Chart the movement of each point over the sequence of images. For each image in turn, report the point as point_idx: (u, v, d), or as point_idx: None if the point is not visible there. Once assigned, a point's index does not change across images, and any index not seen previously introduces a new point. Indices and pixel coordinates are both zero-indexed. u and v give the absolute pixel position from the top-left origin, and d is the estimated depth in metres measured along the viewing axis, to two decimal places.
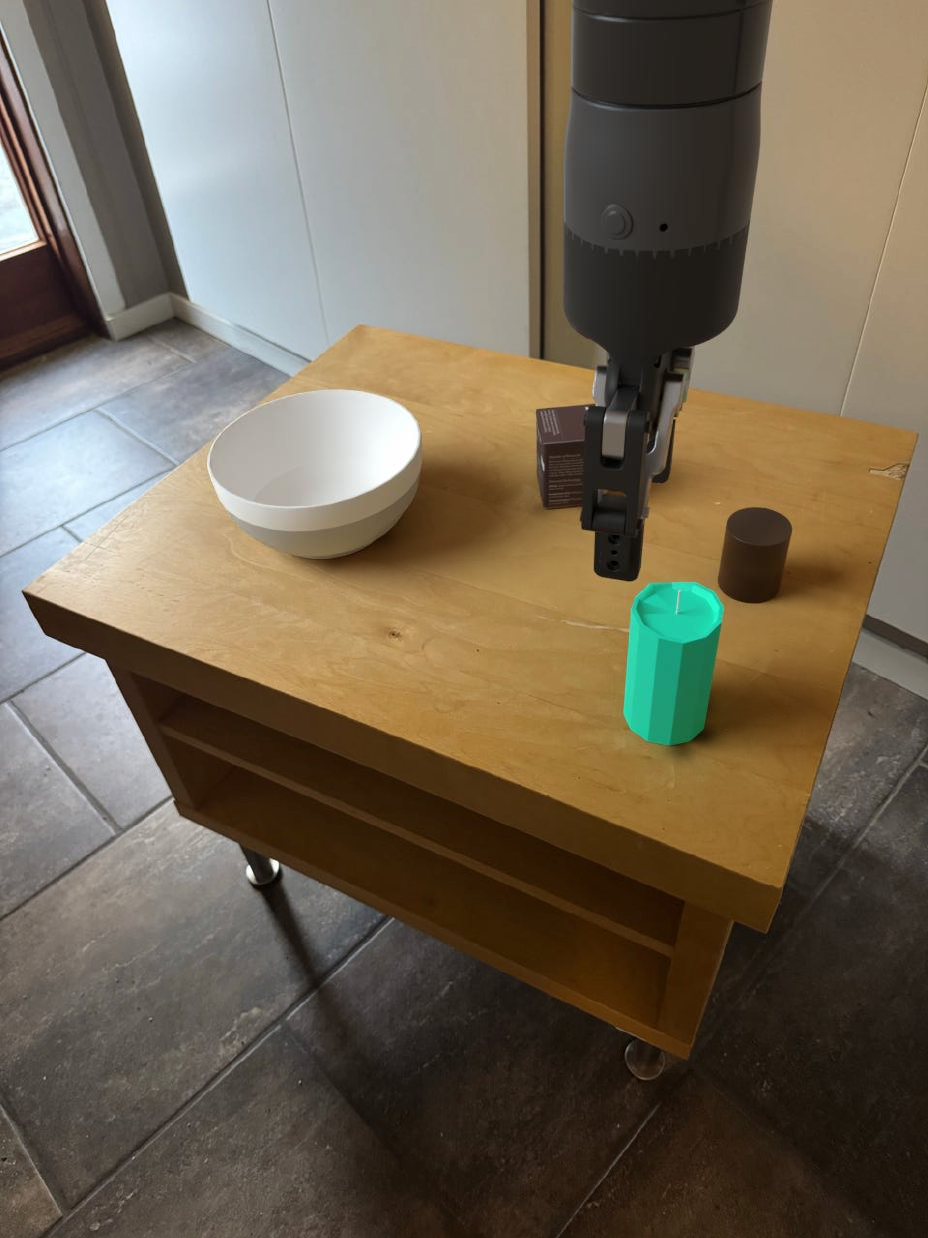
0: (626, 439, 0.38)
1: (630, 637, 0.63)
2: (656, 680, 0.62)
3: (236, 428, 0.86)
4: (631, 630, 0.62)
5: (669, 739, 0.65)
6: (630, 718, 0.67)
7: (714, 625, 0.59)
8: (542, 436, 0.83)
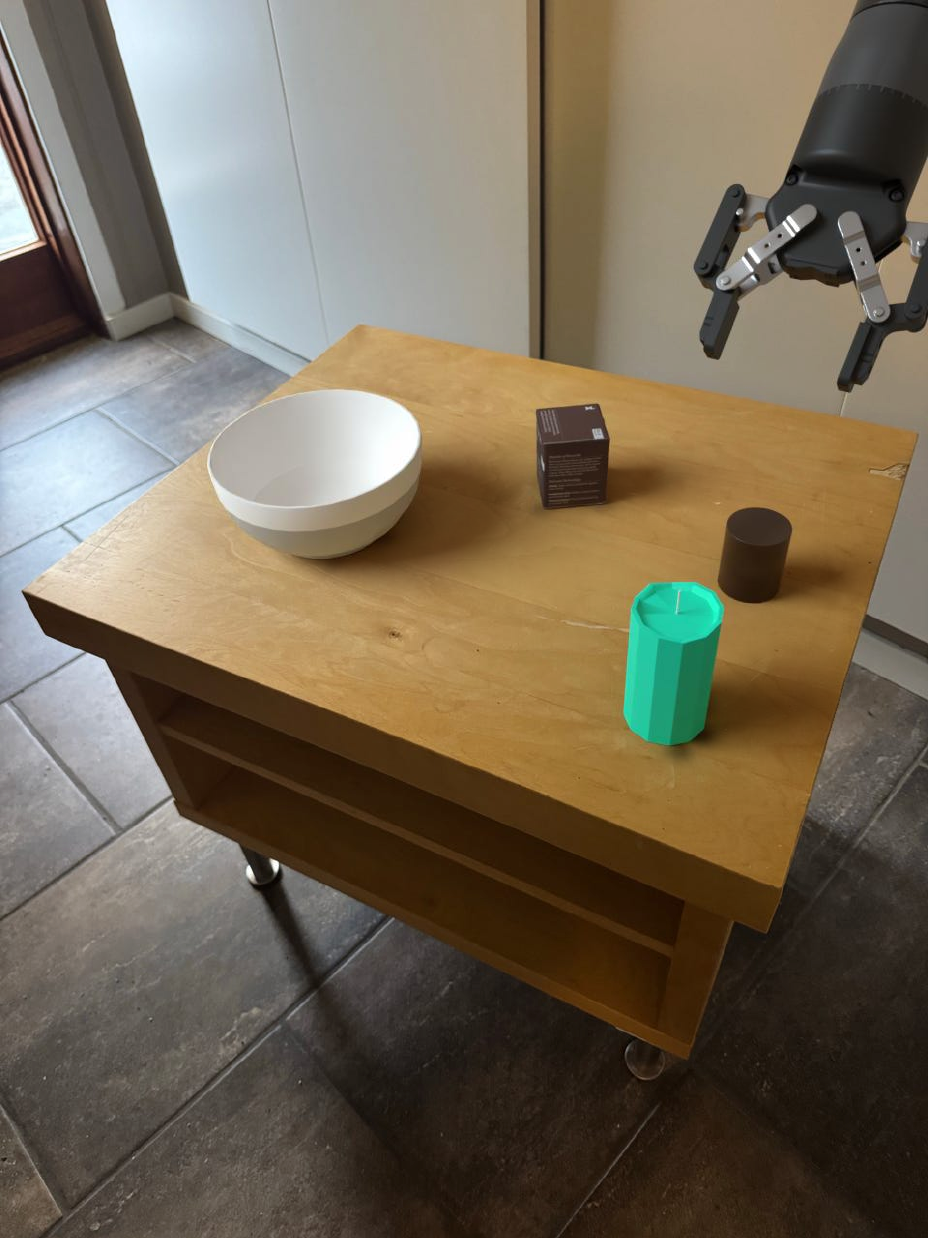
0: None
1: (630, 637, 0.63)
2: (656, 680, 0.62)
3: (236, 428, 0.86)
4: (631, 630, 0.62)
5: (669, 739, 0.65)
6: (630, 718, 0.67)
7: (714, 625, 0.59)
8: (542, 436, 0.83)
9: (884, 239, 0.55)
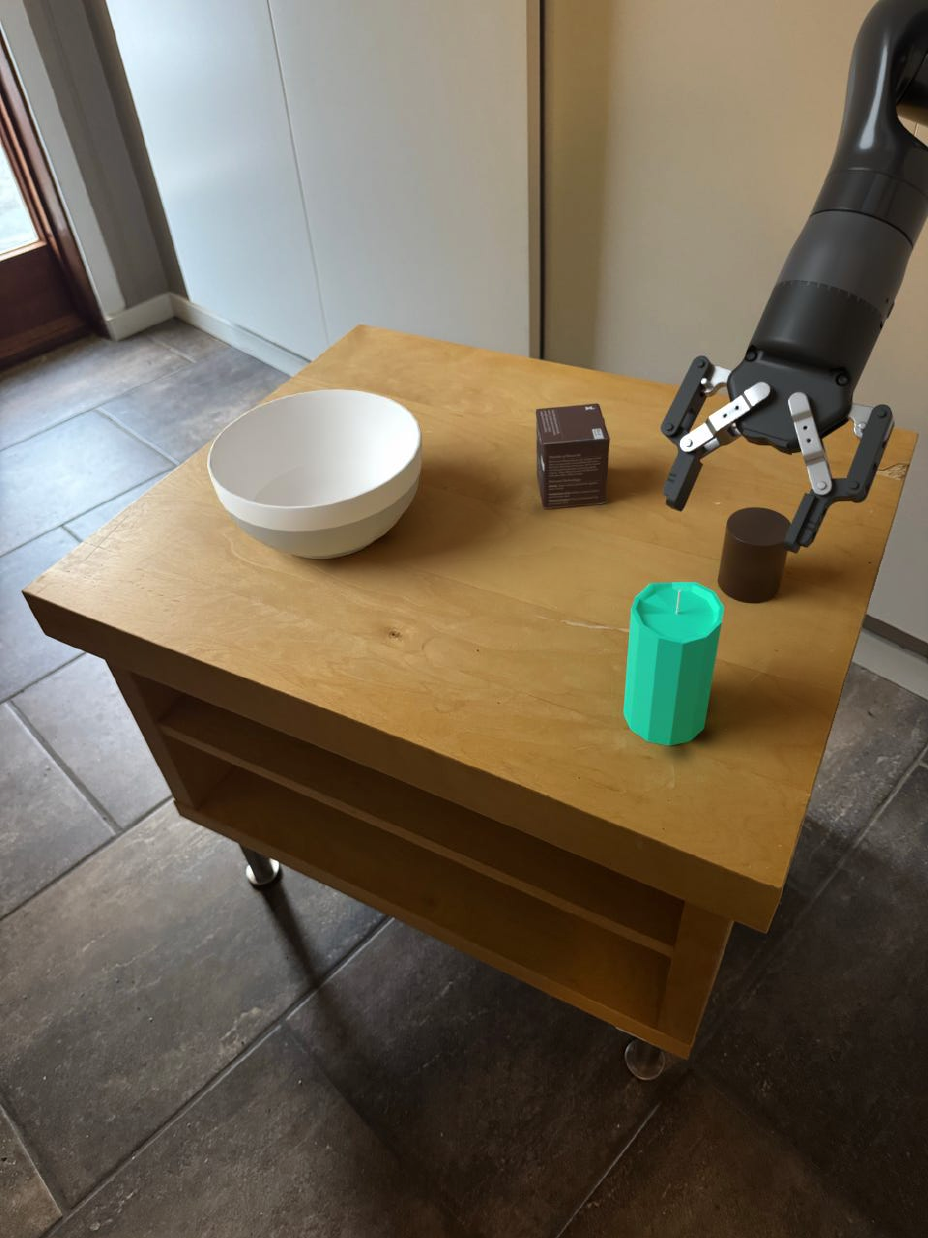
0: None
1: (630, 637, 0.63)
2: (656, 680, 0.62)
3: (236, 428, 0.86)
4: (631, 630, 0.62)
5: (669, 739, 0.65)
6: (630, 718, 0.67)
7: (714, 625, 0.59)
8: (542, 436, 0.83)
9: (830, 419, 0.60)
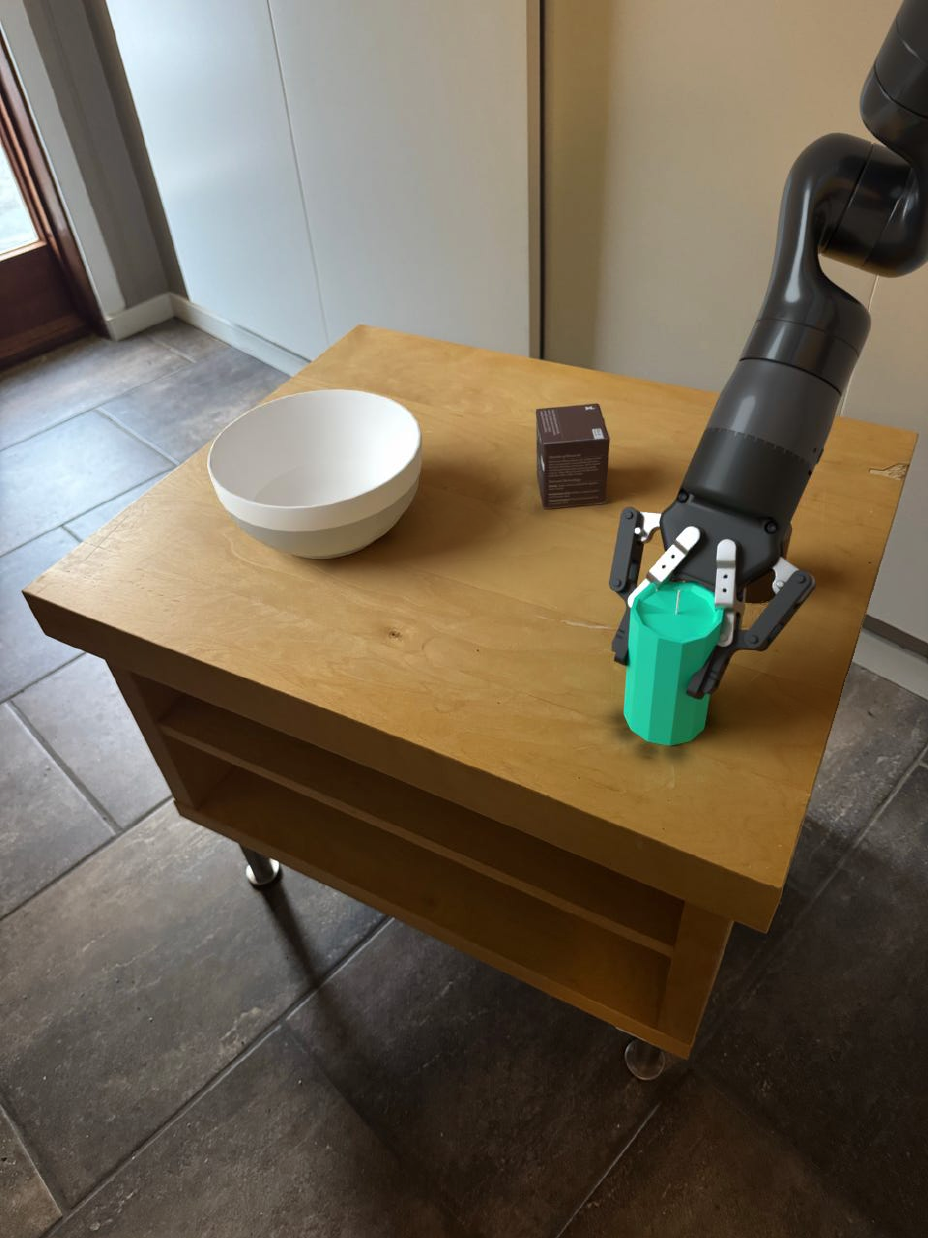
0: None
1: (630, 637, 0.63)
2: (656, 680, 0.62)
3: (236, 428, 0.86)
4: (631, 630, 0.62)
5: (669, 739, 0.65)
6: (630, 718, 0.67)
7: (714, 625, 0.59)
8: (542, 436, 0.83)
9: (759, 567, 0.60)
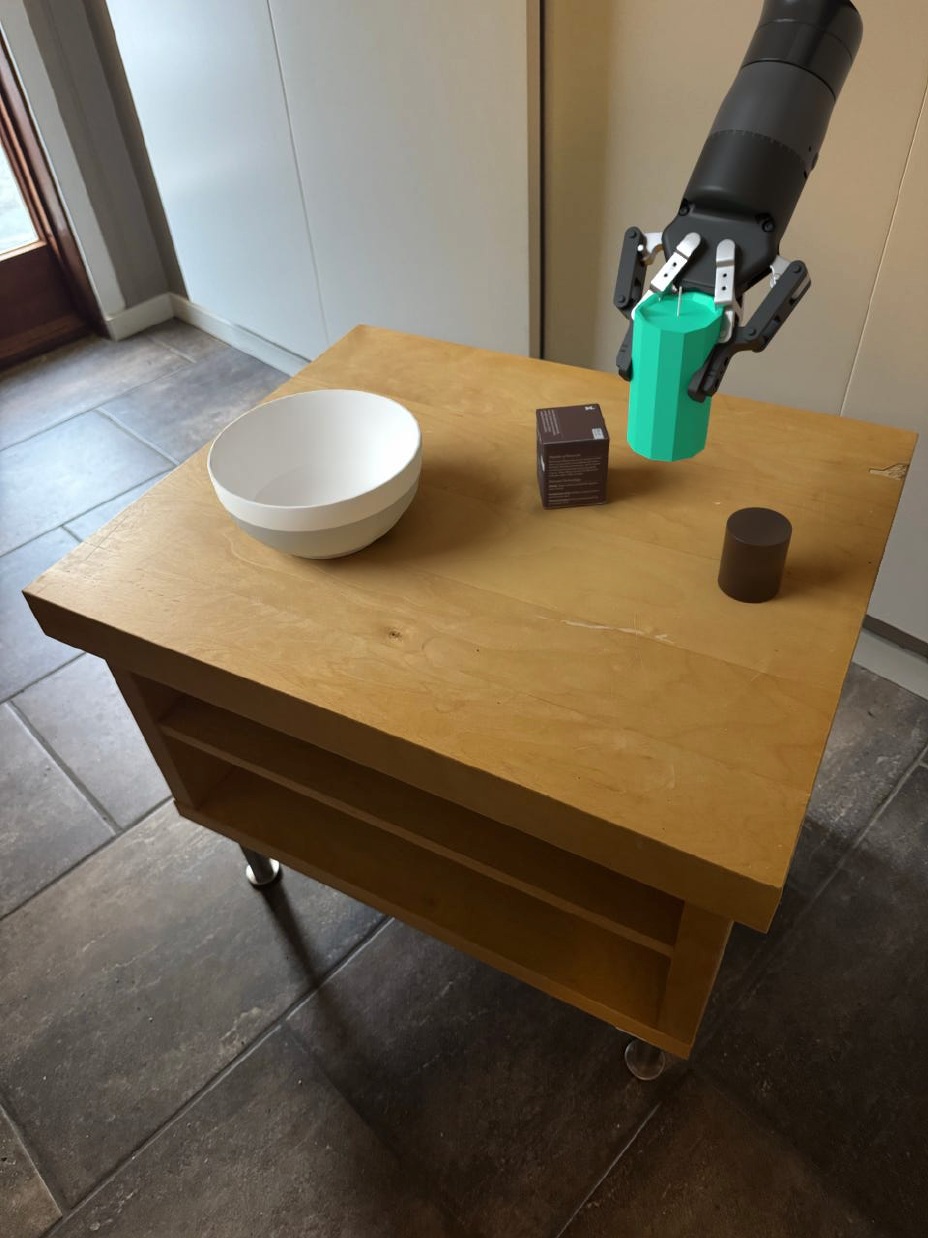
0: None
1: (633, 344, 0.65)
2: (658, 382, 0.65)
3: (236, 428, 0.86)
4: (634, 335, 0.65)
5: (671, 453, 0.68)
6: (633, 438, 0.70)
7: (714, 317, 0.62)
8: (542, 436, 0.83)
9: (756, 264, 0.63)
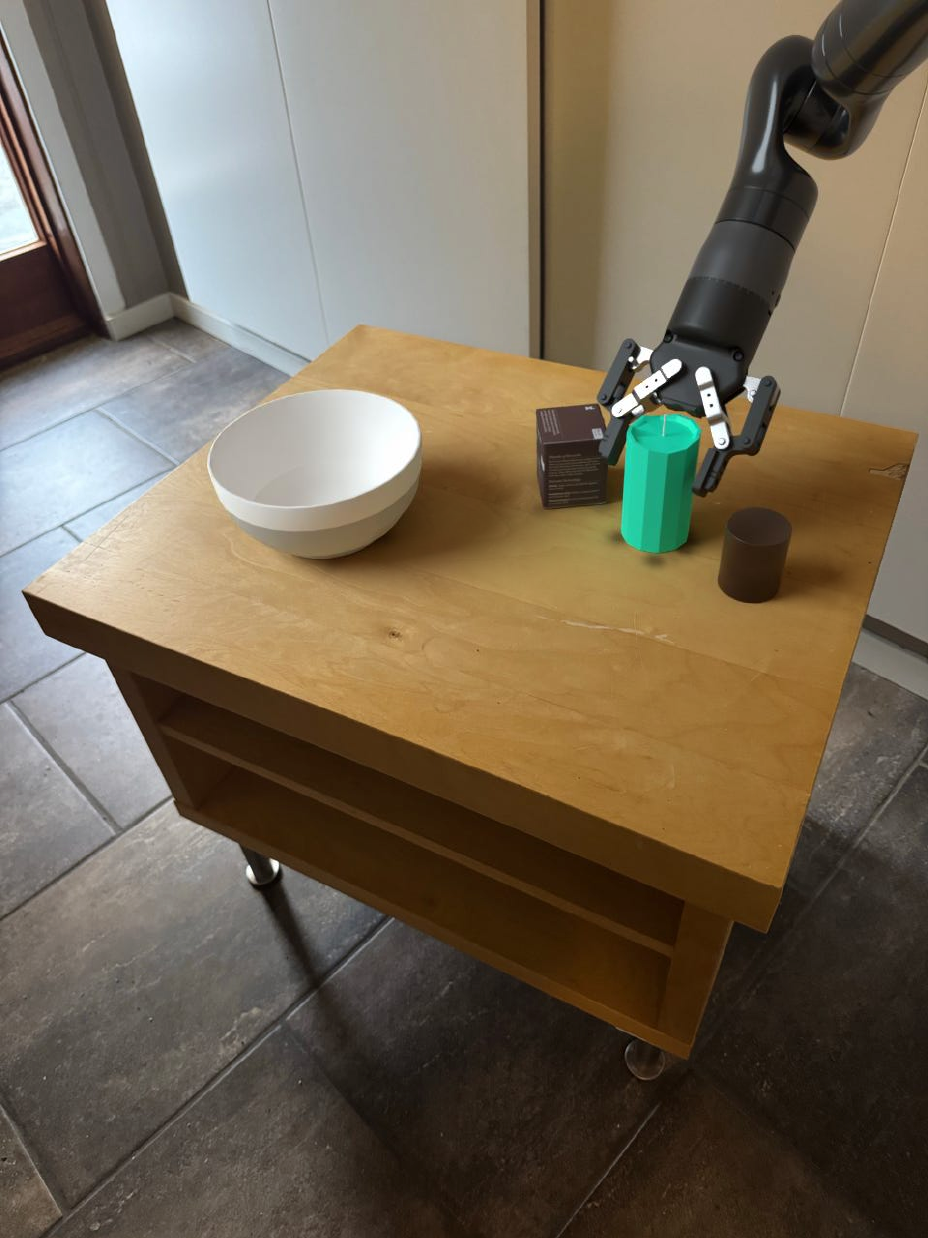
0: None
1: (626, 457, 0.78)
2: (647, 491, 0.77)
3: (236, 428, 0.86)
4: (627, 451, 0.77)
5: (658, 547, 0.81)
6: (626, 532, 0.82)
7: (693, 440, 0.75)
8: (542, 436, 0.83)
9: (728, 388, 0.75)
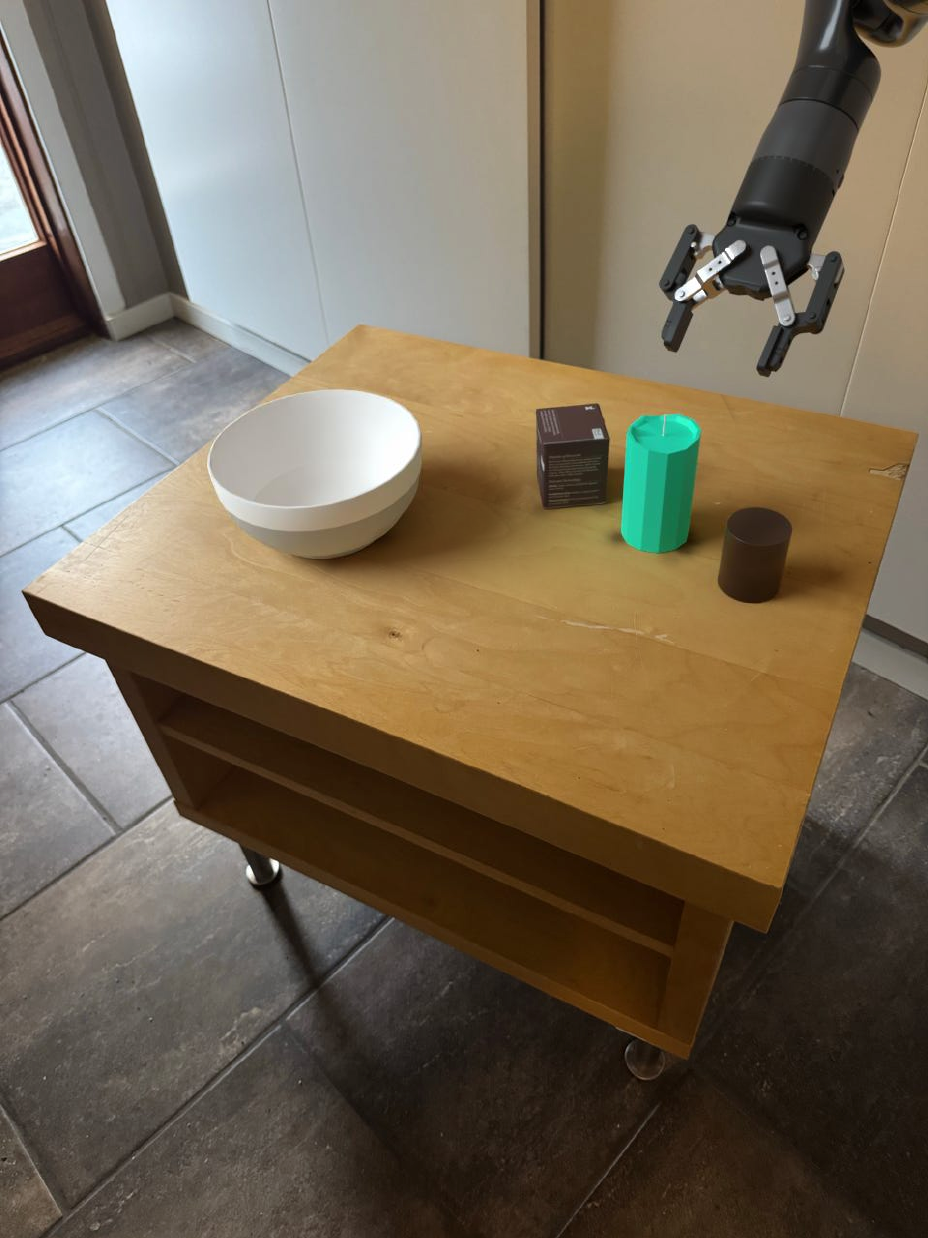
0: None
1: (626, 457, 0.78)
2: (647, 491, 0.77)
3: (236, 428, 0.86)
4: (627, 451, 0.77)
5: (658, 547, 0.81)
6: (626, 532, 0.82)
7: (693, 440, 0.75)
8: (542, 436, 0.83)
9: (793, 266, 0.76)
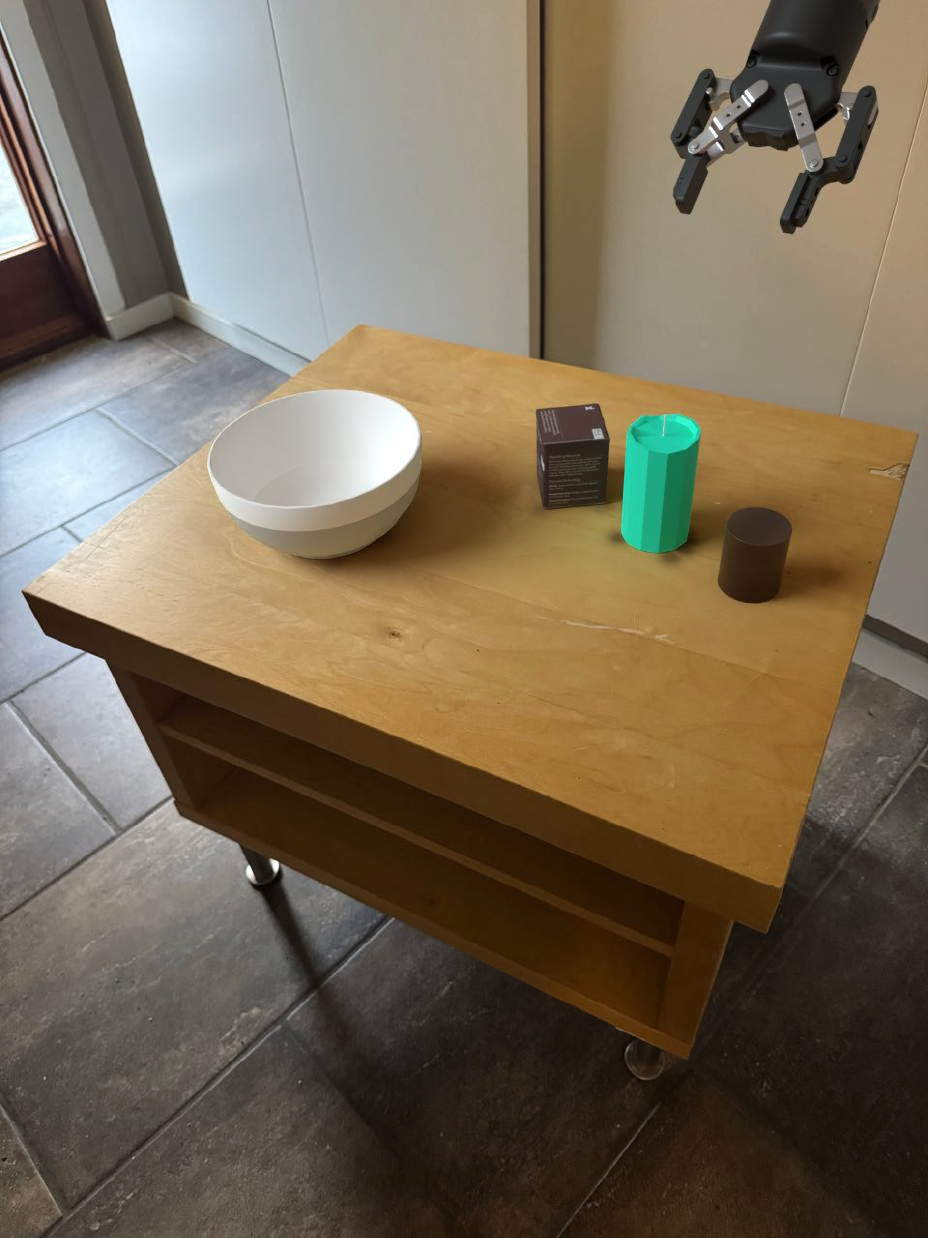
0: None
1: (626, 457, 0.78)
2: (647, 491, 0.77)
3: (236, 428, 0.86)
4: (627, 451, 0.77)
5: (658, 547, 0.81)
6: (626, 532, 0.82)
7: (693, 440, 0.75)
8: (542, 436, 0.83)
9: (821, 106, 0.68)
